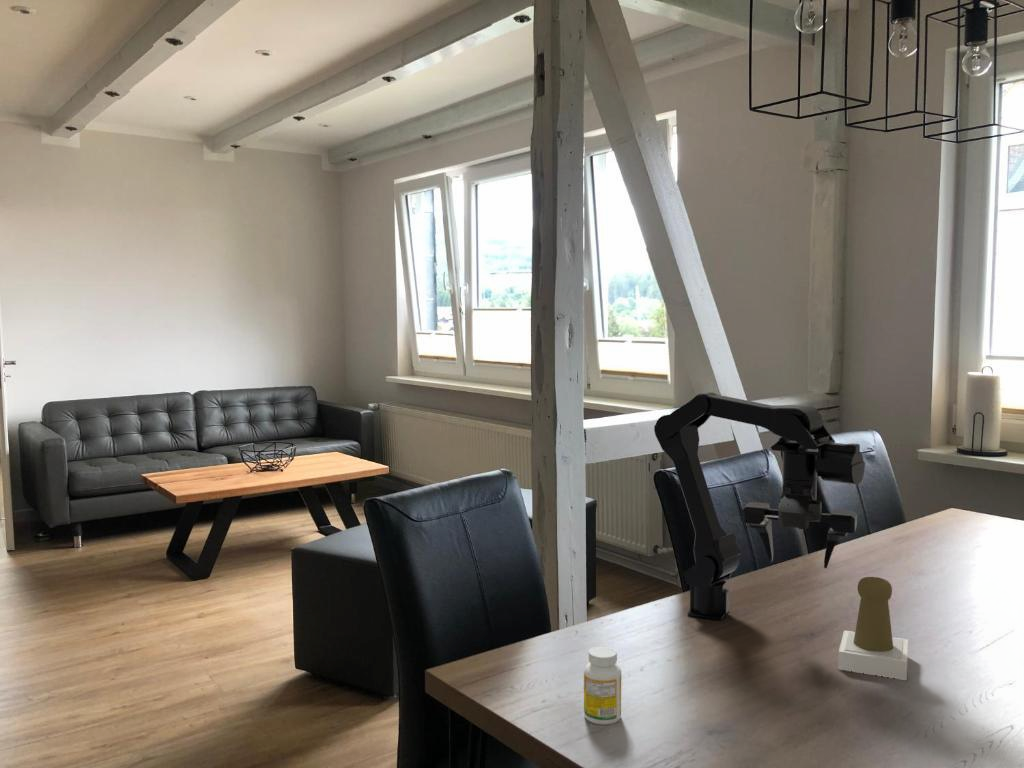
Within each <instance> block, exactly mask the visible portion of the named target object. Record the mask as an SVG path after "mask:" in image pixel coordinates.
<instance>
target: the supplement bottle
mask: <svg viewBox="0 0 1024 768" xmlns="http://www.w3.org/2000/svg"><path fill="white" fill-rule="evenodd" d="M617 653H618V652H617V650H615V649H614V648H611V647H607V646H595V647H591V648H590V649H589V650H588V657H587V659H588V663H587V664H586V665H585V666H584V668H583V669H584V670H583V713H584V717H585V719H586V720H587V721H589V722H591V723H592V724H595V725H601V726H603V725H604V726H605V725H611V724H615V723H617V722H618V721H620V719H621V716H622V670H621V667H620V666H619V665H618V664H617V661H618V657H617V656H618V654H617Z"/></svg>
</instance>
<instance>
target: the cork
mask: <svg viewBox="0 0 1024 768" xmlns="http://www.w3.org/2000/svg"><path fill="white" fill-rule="evenodd" d="M857 592H858V593H857V594H858V595H859V597H860V602H859V607H858V608H859V609H858V614H857V620H856V624H855V629H854V630H855V631H854V632H855V636H854V642H853V643H854V644H855V645H856V646H858V647H860V648H862V649H865V650H869V651H876V652H884V651H890V650H892V649H893V640H892V637H893V633H892V625H891V623H892V622H891V616H890V605H889V600H890V599H891V597H892V594H893V587H892V584H891V583H890V581H889V580H887V579H885V578H881V577H878V576H877V577H876V576H866V577H862V578H860V580H859V581H858V583H857Z"/></svg>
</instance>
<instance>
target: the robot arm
mask: <svg viewBox="0 0 1024 768" xmlns="http://www.w3.org/2000/svg"><path fill="white" fill-rule="evenodd" d="M711 416H712V417H715V418H720V419H724V420H730V421H734V422H739V423H743V424H748V425H753V426H756V427H757V426H758V427H761V428H763V429H766V430H767V431H769V432H770V433H772V434H773V435H776V436H777V437H778V436H779V438H778V440H777V442H775V443H774V444H773V445H772V446H770V450H771V451H773V452H774V451H777V452H782V480H781V481H782V483H781V485H782V489H781V490H782V491H781V496H780V497H779V503H778V509H777V508H771V506H770V502H769V503H768V502H755V501H750V502H748V503H747V504H746V505H745V506H744V507H743V509H742V513H741V522H742V523H743V524H749V528H751V529H755V530H756V531H757V533H758V534H759V536H760V538H761V541H762V543H763V546H764V549H765V553H766V554H767V559H768V562H770V563H772V562H773V561H774V543H773V542H774V541H773V528H772V524H773V523H772V520H773V521H778V524H779V527H781V528H785V529H787V528H797V529H798V530H806V529H808V528H809V526H810V524H818V525H825V526H826V525H829V529H828V532H827V538H826V539H827V540H826V545H825V546H826V547H825V552H824V560H823V569H827V568H828V566H829V563H830V560H831V557H832V554H833V551H834V548H835V546H836V545H837V543H838V541H839V539H840V538H846V537H847V535H848V534H855V533H856V530H857V528H858V527H857V526H858V514H857V512H856V511H855V510H852V509H839V508H832V510H831V513H826V512H825V513H823V506H822V505H823V504H822V500H817V493H818V492H817V489H818V488H817V487H818V486H817V485H818V477H819V478H821V480H822V481H823V482H829V483H830V482H833V483H838V484H839V483H840V484H848V485H857V486H858V485H860V484H861V482H862V480H863V479H864V475H865V470H866V469H865V468H866V467H865V466H866V462H865V461H864V456H863V454H862V452H861V451H860V450H861V449H860V448H861V445H860V444H859V443H853V442H852V443H841V442H839V443H838V442H836V440H835V439H834V438H833V436H832V435H831V433H830V432H829V430H828V429H827V427H826V426H825V424H824V423H823V418H822V415H821V413H820V411H819V410H818V408H816V407H815V406H813V405H809V404H807V405H806V404H784V405H779V404H778V405H775V404H773V405H771V404H766V403H761V402H756V401H752V400H746V399H742V398H737V397H731V396H725V395H722V394H717V393H715V392H704V393H703V392H701V393H699V394H696V395H695V396H694V397H693V398H692V399H690V400H689V401H688V402H687V403H685V404H683V405H681V406H680V407H678V408H677V409H676V410H673V411H672V412H671V413H670V414H669V413H668V414H663V415H662V416H660V417H659V418H658V419H657V420H656V422H655V424H654V426H653V429H654V435H655V438H656V440H657V442H658V443H659V446H660V447H661V450H662V451H663V452H664V454H666V455H667V456H668V458H669V459H670V460H671V461H672V463H673V465H674V469H675V472H676V474H677V475H676V476H677V478H678V481H679V484H680V488H681V491H682V494H683V497H684V500H685V504H686V507H687V510H688V514H689V518H690V520H691V523H692V526H693V529H694V533H695V536H694V544H693V556H694V561H695V563H694V564H693V565H692V566H691V567H689V568H688V569H687V570H685V572H683V577H684V581H685V584H686V585H688V586H689V598H690V599H689V610H688V611H687V616H691V617H697V618H704V619H711V620H712V619H713V620H718V621H721V620H723V618H724V617H725V615H727V614H728V612H729V610H730V589H728V588H727V581H726V580H729V579H731V576H732V573H734V572H735V571H736V570H737V569H738V566H739V565H740V561H741V559H740V554H742V551H741V550H740V549H739V546H738V544H737V537H736V535H735V533H734V532H731V533H727V532H726V530H724V529H723V527H722V526H721V525H720V521H719V519H718V516H717V513H716V509H715V506H714V503H713V500H712V496H711V494H710V490H709V487H708V484H707V481H706V477H705V474H704V471H703V468H702V465H701V462H700V461H701V460H700V459H699V454H698V453H699V445H700V435H699V428H700V427H702V426H703V425H704V424H705V423H706V422H708V420H709V419H710V417H711Z"/></svg>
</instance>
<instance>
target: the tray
mask: <svg viewBox="0 0 1024 768" xmlns="http://www.w3.org/2000/svg"><path fill="white" fill-rule="evenodd" d="M854 636H855V631H851V630H843V634H842V637H841V642H840V645H839V647H838V648H839V649H838V662H837V663H838V666H837V667H838V668H837V669H839V671H844V670H845V672H851V671H852V673H856V674H857V673H858V674H863V673H864V675H871V676H875V675H877V677H881V676H883V677H884V678H887V677H889V678H888V679H893V678H895V679H894V680H899V681H900V680H901V681H906V680H907V677H908V661H909V659H908V658H909V639H907V638H902V637H901V638H900V637H899V638H898V637H894V636H892V640H893V649H892V650H890V651H884V652H876V651H869V650H865V649H862V648H860V647H858V646H856V645H855V644H854V643H853V642H854Z"/></svg>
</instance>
